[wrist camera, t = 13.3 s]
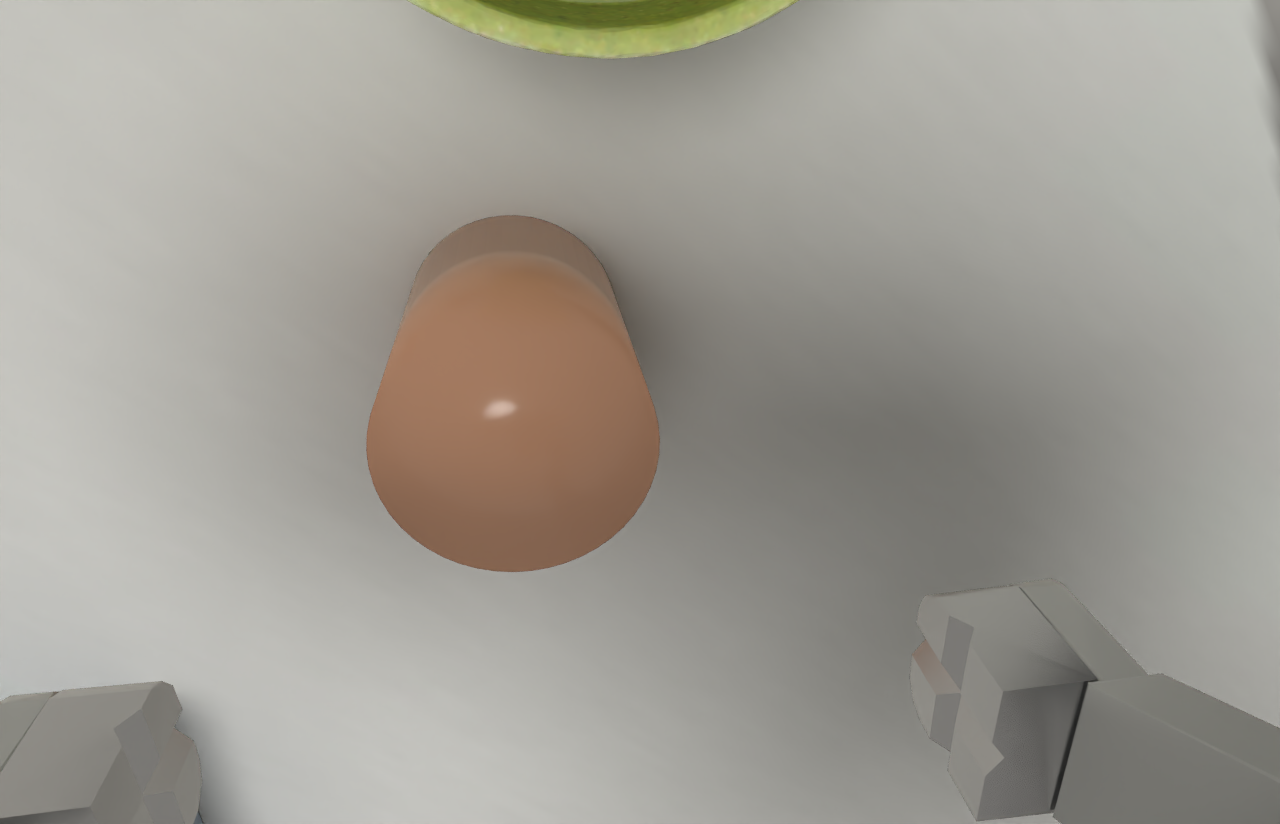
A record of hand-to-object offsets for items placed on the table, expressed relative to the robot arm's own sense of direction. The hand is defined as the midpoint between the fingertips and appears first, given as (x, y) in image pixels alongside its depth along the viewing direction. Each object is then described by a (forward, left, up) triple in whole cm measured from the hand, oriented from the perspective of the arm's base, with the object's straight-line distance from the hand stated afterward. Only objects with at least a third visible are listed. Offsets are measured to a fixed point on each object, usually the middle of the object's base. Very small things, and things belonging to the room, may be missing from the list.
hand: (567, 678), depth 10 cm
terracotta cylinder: (+1, 0, -13) cm, 13 cm away
